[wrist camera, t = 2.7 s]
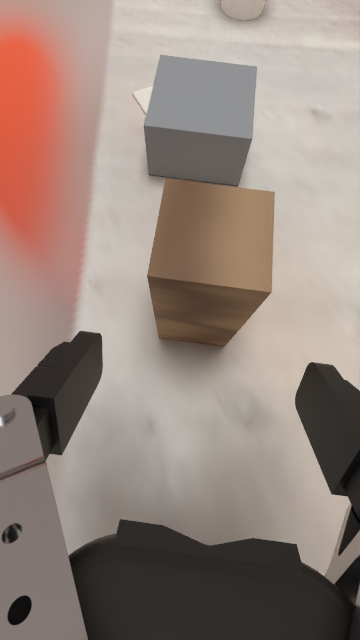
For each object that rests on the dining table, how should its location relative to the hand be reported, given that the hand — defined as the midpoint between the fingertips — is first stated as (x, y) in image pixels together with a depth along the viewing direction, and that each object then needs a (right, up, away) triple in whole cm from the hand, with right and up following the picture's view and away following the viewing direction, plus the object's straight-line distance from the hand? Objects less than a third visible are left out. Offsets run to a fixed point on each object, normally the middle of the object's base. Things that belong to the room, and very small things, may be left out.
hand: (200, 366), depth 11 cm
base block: (+1, +20, +18) cm, 27 cm away
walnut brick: (0, +3, +12) cm, 13 cm away
